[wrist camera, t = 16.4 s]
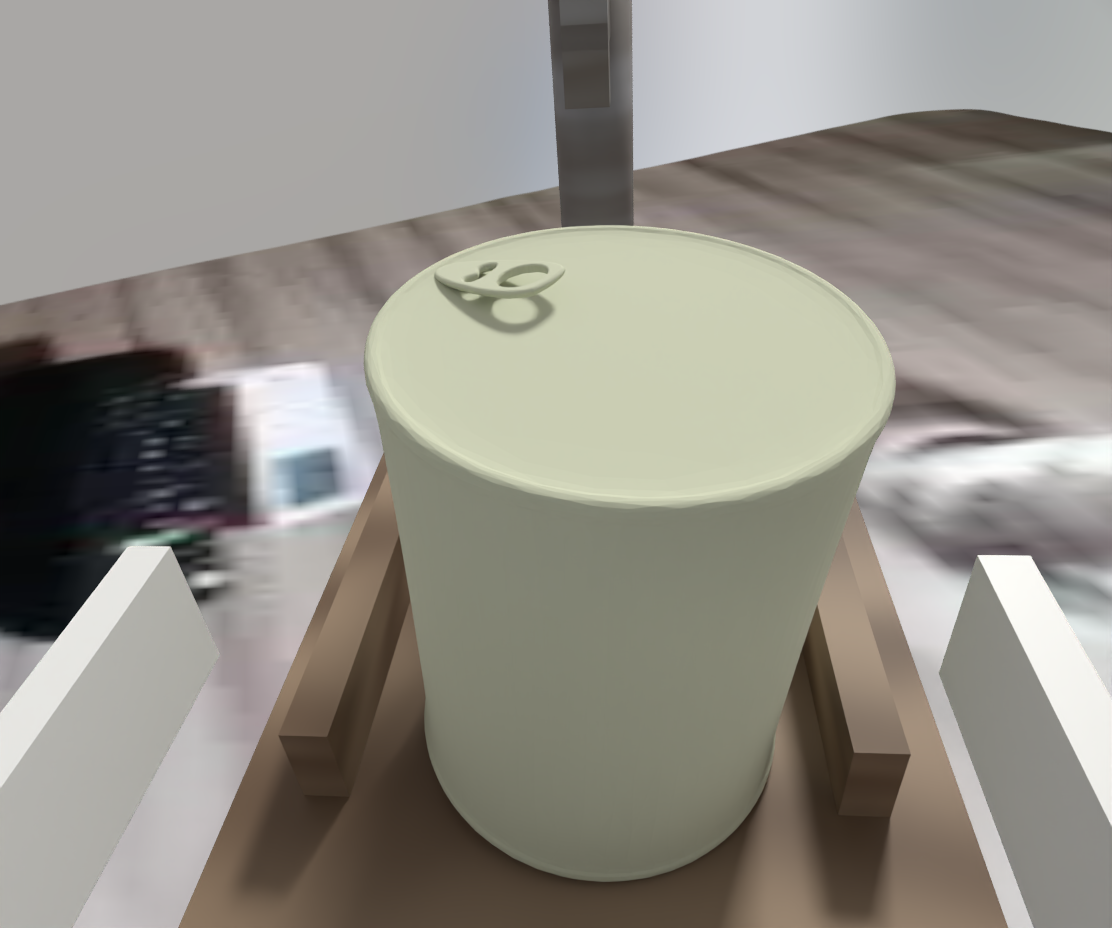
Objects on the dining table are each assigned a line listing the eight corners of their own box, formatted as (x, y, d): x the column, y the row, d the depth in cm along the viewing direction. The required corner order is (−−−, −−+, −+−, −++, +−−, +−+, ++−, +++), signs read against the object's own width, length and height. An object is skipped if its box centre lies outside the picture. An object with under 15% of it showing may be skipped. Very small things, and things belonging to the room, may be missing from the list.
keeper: (1047, 1091, 15) (1780, 226, 5) (154, 1029, 17) (-508, 297, 7) (821, 425, 34) (895, -47, 24) (403, 429, 36) (312, -8, 26)
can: (550, 534, 26) (551, 169, 19) (823, 665, 23) (968, 273, 15) (350, 749, 21) (231, 345, 13) (674, 974, 17) (785, 593, 9)
